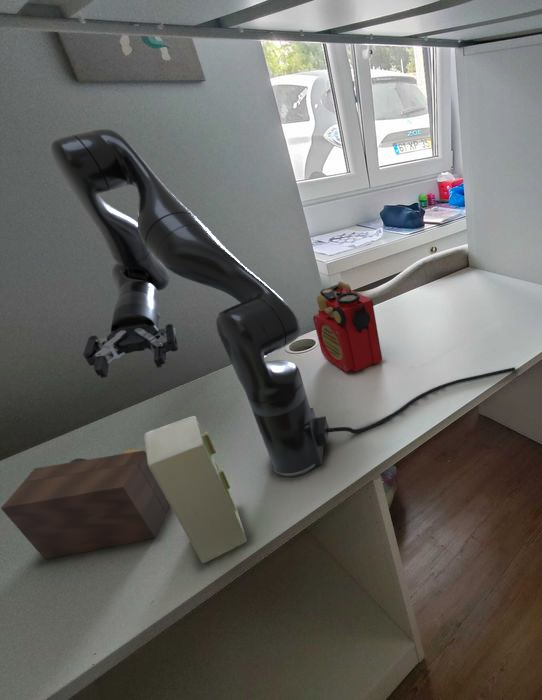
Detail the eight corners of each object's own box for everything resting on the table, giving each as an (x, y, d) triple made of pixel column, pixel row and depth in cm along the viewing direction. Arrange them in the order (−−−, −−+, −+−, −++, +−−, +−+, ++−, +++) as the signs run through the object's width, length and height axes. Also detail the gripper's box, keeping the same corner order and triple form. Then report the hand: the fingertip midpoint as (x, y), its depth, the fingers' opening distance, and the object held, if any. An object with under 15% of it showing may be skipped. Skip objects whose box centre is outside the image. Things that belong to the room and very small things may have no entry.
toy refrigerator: (253, 539, 71) (208, 441, 60) (203, 565, 67) (145, 465, 57) (242, 507, 76) (199, 412, 66) (195, 530, 73) (141, 432, 62)
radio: (321, 356, 119) (303, 287, 109) (353, 342, 125) (339, 275, 115) (352, 378, 109) (336, 305, 99) (386, 362, 115) (374, 291, 105)
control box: (178, 488, 81) (151, 439, 75) (155, 538, 72) (122, 486, 66) (81, 505, 79) (45, 456, 72) (44, 559, 69) (0, 508, 63)
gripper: (85, 308, 86) (72, 362, 75) (170, 296, 91) (169, 345, 81) (101, 338, 91) (91, 392, 80) (181, 325, 96) (182, 375, 86)
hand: (130, 369), depth 80 cm, fingers open, 8 cm apart
